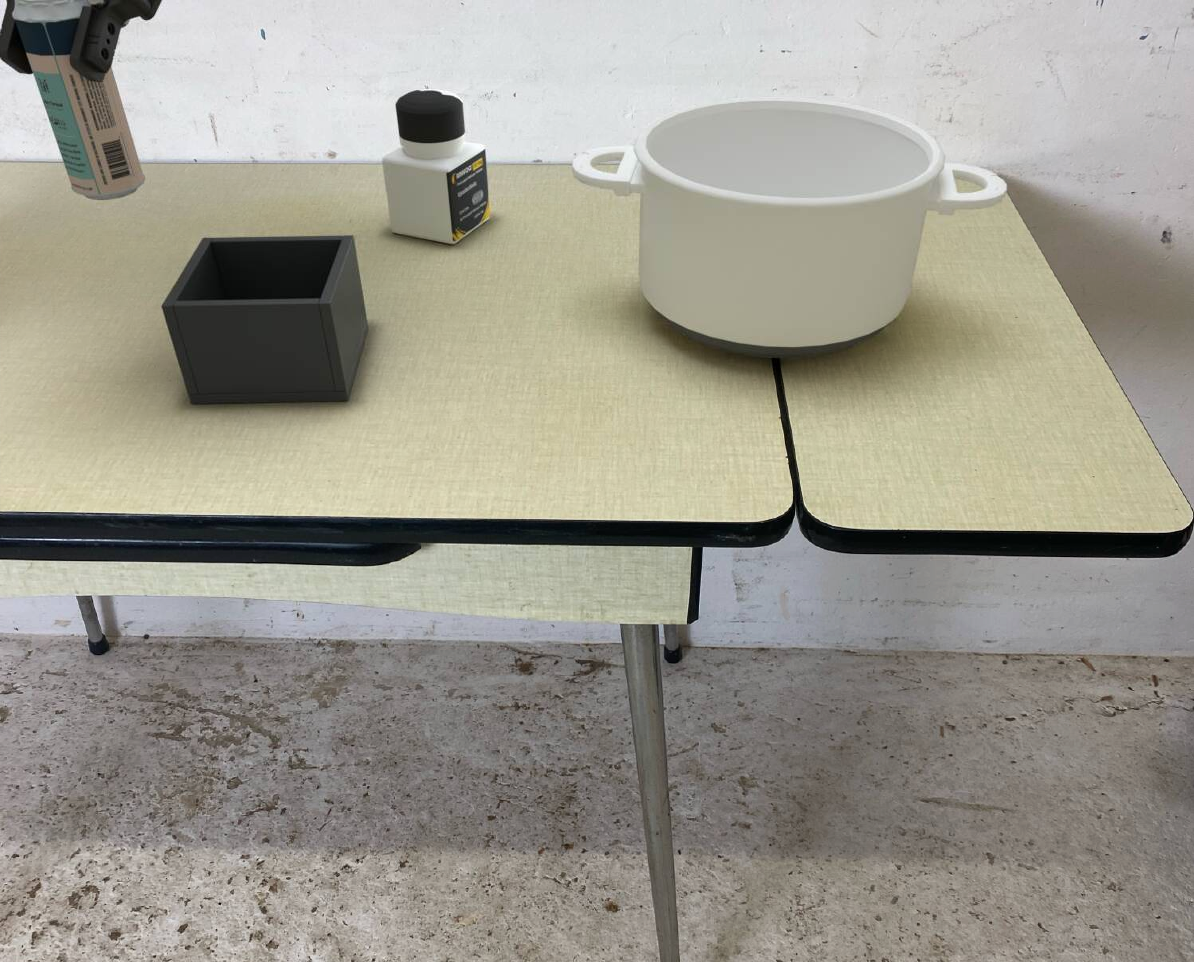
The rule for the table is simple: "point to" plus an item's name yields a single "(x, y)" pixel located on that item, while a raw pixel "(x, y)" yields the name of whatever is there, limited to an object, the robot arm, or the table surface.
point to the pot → (783, 218)
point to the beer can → (78, 103)
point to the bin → (268, 319)
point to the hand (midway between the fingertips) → (49, 69)
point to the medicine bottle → (435, 170)
